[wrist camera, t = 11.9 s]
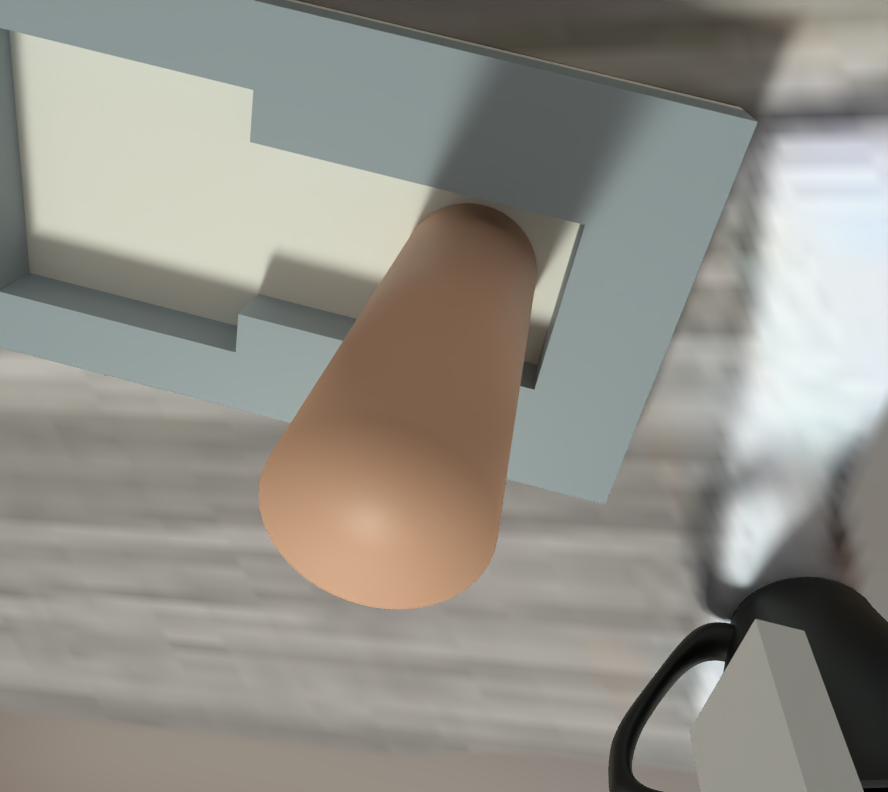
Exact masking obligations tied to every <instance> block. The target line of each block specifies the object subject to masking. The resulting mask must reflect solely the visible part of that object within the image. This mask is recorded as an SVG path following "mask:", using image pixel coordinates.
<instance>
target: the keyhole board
mask: <svg viewBox="0 0 888 792" xmlns="http://www.w3.org/2000/svg"><path fill="white" fill-rule="evenodd" d="M756 125H757V121H756V120H755V119H754V118H753V117H752V116H750V115H749V114H748V113H747V112H746V111H745V110H743V109H742V108H741V107H738V106H733V105H729V104H725V103H721V102H717V101H713V100H708V99H704V98H700V97H696V96H692V95H688V94H683V93H679V92H675V91H671V90H667V89H663V88H659V87H654V86H650V85H646V84H642V83H638V82H634V81H629V80H625V79H621V78H617V77H613V76H609V75H605V74H600V73H596V72H592V71H588V70H584V69H580V68H575V67H571V66H567V65H563V64H559V63H555V62H550V61H546V60H542V59H538V58H534V57H530V56H526V55H521V54H517V53H513V52H509V51H505V50H501V49H496V48H492V47H488V46H484V45H480V44H476V43H471V42H467V41H463V40H459V39H455V38H451V37H447V36H442V35H438V34H434V33H430V32H426V31H422V30H417V29H413V28H409V27H405V26H401V25H397V24H393V23H388V22H384V21H380V20H376V19H372V18H368V17H363V16H359V15H355V14H351V13H347V12H343V11H338V10H334V9H330V8H326V7H322V6H318V5H314V4H309V3H305V2H301V1H297V0H0V348H4V349H8V350H11V351H15V352H19V353H23V354H27V355H31V356H35V357H38V358H42V359H46V360H50V361H54V362H58V363H61V364H65V365H69V366H73V367H77V368H81V369H85V370H88V371H92V372H96V373H100V374H104V375H108V376H112V377H115V378H119V379H123V380H127V381H131V382H135V383H139V384H142V385H146V386H150V387H154V388H158V389H162V390H165V391H169V392H173V393H177V394H181V395H185V396H189V397H192V398H196V399H200V400H204V401H208V402H212V403H216V404H219V405H223V406H227V407H231V408H235V409H239V410H243V411H246V412H250V413H254V414H258V415H262V416H266V417H269V418H273V419H277V420H281V421H285V422H289V423H291V422H292V420H293V418H294V417H295V415H296V414H297V412H298V411H299V409H300V408H301V406H302V404H303V403H304V401H305V400H306V398H307V397H308V395H309V393H310V392H311V390H312V389H313V387H314V386H315V384H316V383H317V381H318V379H319V378H320V376H321V375H322V373H323V372H324V370H325V368H326V367H327V365H328V364H329V362H330V361H331V359H332V358H333V356H334V354H335V353H336V351H337V350H338V348H339V347H340V345H341V343H342V342H343V340H344V339H345V337H346V336H347V334H348V333H349V331H350V329H351V328H352V326H353V325H354V323H355V322H356V320H357V318H358V317H359V315H360V314H361V312H362V311H363V309H364V307H365V306H366V304H367V303H368V301H369V300H370V298H371V297H372V295H373V293H374V292H375V290H376V289H377V287H378V286H379V284H380V282H381V281H382V279H383V278H384V276H385V275H386V273H387V272H388V270H389V268H390V267H391V265H392V264H393V262H394V261H395V259H396V257H397V256H398V254H399V253H400V251H401V250H402V248H403V247H404V245H405V243H406V242H407V240H408V239H409V237H410V236H411V234H412V232H413V231H414V230H415V228H416V227H417V226H418V224H419V223H420V222H422V221H423V220H424V219H425V218H426V217H427V216H429V215H430V214H431V213H433V212H435V211H437V210H439V209H441V208H444V207H446V206H450V205H454V204H462V203H474V204H480V205H485V206H488V207H491V208H494V209H496V210H498V211H500V212H502V213H504V214H505V215H507V216H509V217H510V218H511V219H512V220H513V221H515V222H516V223H517V224H518V225H519V226H520V228H521V229H522V230H523V231H524V233H525V234H526V236H527V237H528V239H529V241H530V243H531V245H532V248H533V250H534V253H535V258H536V266H537V274H536V283H535V290H534V296H533V303H532V310H531V317H530V323H529V330H528V337H527V343H526V350H525V357H524V364H523V370H522V377H521V384H520V390H519V397H518V404H517V411H516V417H515V424H514V431H513V438H512V444H511V451H510V458H509V464H508V471H507V478H506V479H508V480H512V481H516V482H520V483H524V484H528V485H531V486H535V487H539V488H543V489H547V490H551V491H554V492H558V493H562V494H566V495H570V496H574V497H578V498H581V499H585V500H589V501H593V502H597V503H601V504H605V503H606V501H607V498H608V496H609V493H610V491H611V488H612V486H613V483H614V481H615V478H616V476H617V473H618V471H619V468H620V466H621V463H622V461H623V458H624V456H625V453H626V451H627V448H628V446H629V443H630V441H631V438H632V435H633V433H634V430H635V428H636V425H637V423H638V420H639V418H640V415H641V413H642V410H643V408H644V405H645V403H646V400H647V398H648V395H649V393H650V390H651V388H652V385H653V383H654V380H655V378H656V375H657V373H658V370H659V368H660V365H661V363H662V360H663V358H664V355H665V353H666V350H667V348H668V345H669V343H670V340H671V338H672V335H673V333H674V330H675V328H676V325H677V323H678V320H679V318H680V315H681V313H682V310H683V308H684V305H685V303H686V300H687V298H688V295H689V293H690V290H691V288H692V285H693V283H694V280H695V278H696V275H697V273H698V270H699V268H700V265H701V263H702V260H703V258H704V255H705V253H706V250H707V248H708V245H709V243H710V240H711V238H712V235H713V233H714V230H715V228H716V225H717V223H718V220H719V218H720V215H721V213H722V210H723V208H724V205H725V203H726V200H727V198H728V195H729V193H730V190H731V188H732V185H733V183H734V180H735V178H736V175H737V173H738V170H739V168H740V165H741V163H742V160H743V158H744V155H745V153H746V150H747V148H748V145H749V143H750V140H751V138H752V135H753V132H754V130H755V127H756Z"/></svg>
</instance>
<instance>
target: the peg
mask: <svg viewBox="0 0 888 792" xmlns="http://www.w3.org/2000/svg"><path fill="white" fill-rule="evenodd" d="M536 274H537V266H536V258H535V253H534V250H533V248H532V245H531V243H530V241H529V239H528V237H527V236H526V234H525V233H524V231H523V230H522V229H521V228H520V226H519V225H518V224H517V223H516V222H515V221H513V220H512V219H511V218H510V217H509V216H507V215H505V214H504V213H502V212H500V211H498V210H496V209H494V208H491V207H488V206H485V205H480V204H474V203H462V204H454V205H450V206H446V207H444V208H441V209H439V210H437V211H435V212H433V213H431V214H430V215H429V216H427V217H426V218H425V219H424V220H423V221H422V222H420V223H419V224H418V226H417V227H416V228H415V230H414V231H413V232H412V234H411V236H410V237H409V239H408V240H407V242H406V243H405V245H404V247H403V248H402V250H401V251H400V253H399V254H398V256H397V257H396V259H395V261H394V262H393V264H392V265H391V267H390V268H389V270H388V272H387V273H386V275H385V276H384V278H383V279H382V281H381V282H380V284H379V286H378V287H377V289H376V290H375V292H374V293H373V295H372V297H371V298H370V300H369V301H368V303H367V304H366V306H365V307H364V309H363V311H362V312H361V314H360V315H359V317H358V318H357V320H356V322H355V323H354V325H353V326H352V328H351V329H350V331H349V333H348V334H347V336H346V337H345V339H344V340H343V342H342V343H341V345H340V347H339V348H338V350H337V351H336V353H335V354H334V356H333V358H332V359H331V361H330V362H329V364H328V365H327V367H326V368H325V370H324V372H323V373H322V375H321V376H320V378H319V379H318V381H317V383H316V384H315V386H314V387H313V389H312V390H311V392H310V393H309V395H308V397H307V398H306V400H305V401H304V403H303V404H302V406H301V408H300V409H299V411H298V412H297V414H296V415H295V417H294V418H293V420H292V422H291V423H290V425H289V426H288V428H287V429H286V431H285V433H284V434H283V436H282V437H281V439H280V440H279V442H278V444H277V445H276V447H275V448H274V450H273V451H272V453H271V455H270V456H269V458H268V460H267V462H266V463H265V466H264V469H263V471H262V474H261V478H260V484H259V506H260V513H261V516H262V519H263V523H264V526H265V528H266V530H267V532H268V535H269V537H270V538H271V540H272V542H273V543H274V545H275V547H276V548H277V550H278V551H279V552H280V553H281V555H282V556H283V557H284V558H285V560H286V561H287V562H288V563H289V564H290V565H291V566H292V567H293V568H294V569H295V570H296V571H298V572H299V573H300V574H301V575H302V576H304V577H305V578H306V579H308V580H309V581H311V582H312V583H314V584H315V585H316V586H318V587H320V588H322V589H323V590H325V591H327V592H329V593H331V594H333V595H335V596H338V597H340V598H342V599H345V600H348V601H351V602H354V603H357V604H361V605H366V606H370V607H376V608H384V609H413V608H420V607H425V606H430V605H434V604H437V603H440V602H443V601H445V600H448V599H450V598H452V597H454V596H456V595H458V594H459V593H461V592H462V591H464V590H466V589H467V588H468V587H469V586H470V585H472V584H473V583H474V582H475V581H476V580H477V579H478V578H479V577H480V576H481V574H482V573H483V572H484V571H485V569H486V567H487V566H488V564H489V563H490V561H491V558H492V556H493V553H494V551H495V547H496V543H497V538H498V532H499V525H500V518H501V511H502V505H503V498H504V491H505V485H506V478H507V471H508V464H509V458H510V451H511V444H512V438H513V431H514V424H515V417H516V411H517V404H518V397H519V390H520V384H521V377H522V370H523V364H524V357H525V350H526V343H527V337H528V330H529V323H530V317H531V310H532V303H533V296H534V290H535V283H536Z"/></svg>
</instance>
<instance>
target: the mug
mask: <svg viewBox="0 0 888 792" xmlns="http://www.w3.org/2000/svg"><path fill="white" fill-rule="evenodd" d="M755 619H758V620H762V621H766V622H770V623H775V624H779V625H783V626H787V627H791V628H795V629H799V630H803V631H805V634H806V636H807V639H808V642H809V645H810V647H811V650H812V653H813V655H814V658H815V661H816V664H817V666H818V669H819V672H820V674H821V677H822V680H823V682H824V685H825V688H826V691H827V693H828V696H829V699H830V701H831V704H832V707H833V710H834V712H835V715H836V718H837V720H838V723H839V726H840V729H841V731H842V734H843V737H844V739H845V742H846V745H847V748H848V750H849V753H850V756H851V758H852V761H853V764H854V767H855V769H856V772H857V775H858V777H859V780H860V783H861V786H862V788H863V791H864V792H888V622H887V621H886V620H885V619H884V618H883V617H882V616H881V615H880V614H879V613H878V612H877V611H876V610H875V609H874V608H873V607H872V606H871V604H870V603H869V602H868V601H867V600H866V598H865V597H863V596H862V595H861V594H859V593H858V592H857V591H855V590H854V589H852V588H850V587H848V586H845V585H843V584H841V583H838V582H835V581H831V580H826V579H821V578H794V579H787V580H783V581H779V582H775V583H772V584H770V585H767V586H765V587H763V588H761V589H759V590H757V591H756V592H754V593H753V594H751V595H750V596H749V597H747V598H746V599H745V600H744V601H743V602H742V603H741V604H740V606H739V607H738V608H737V610H736V611H735V613H734V615H733V617H732V619H731V624H729V623H721V622H715V623H708V624H705V625H702V626H700V627H698V628H697V629H695V630H694V631H692V632H691V633H690V634H689V635H688V636H687V637H686V638H685V639H684V640H683V641H682V642H681V643H680V644H679V645H678V646H677V647H676V649H675V650H674V651H673V652H672V654H671V655H670V656H669V657H668V659H667V660H666V661H665V663H664V664H663V665H662V666H661V668H660V669H659V670H658V672H657V673H656V674H655V676H654V677H653V678H652V679H651V681H650V682H649V683H648V685H647V686H646V687H645V689H644V690H643V691H642V693H641V694H640V695H639V697H638V698H637V699H636V701H635V702H634V703H633V705H632V706H631V707H630V709H629V710H628V712H627V713H626V715H625V716H624V718H623V720H622V721H621V723H620V725H619V727H618V729H617V731H616V733H615V736H614V738H613V741H612V745H611V750H610V757H609V770H608V771H609V772H608V773H609V791H610V792H662V791H657V790H654V789H651V788H648V787H646V786H644V785H642V784H641V783H640V782H638V781H637V780H636V779H635V777H634V776H633V773H632V760H633V754H634V750H635V747H636V744H637V741H638V738H639V736H640V733H641V731H642V729H643V727H644V725H645V724H646V722H647V720H648V719H649V717H650V716H651V714H652V713H653V711H654V710H655V708H656V707H657V705H658V704H659V702H660V701H661V700H662V698H663V697H664V696H665V694H666V693H667V692H668V690H669V689H670V688H671V687H672V686H673V684H674V683H675V682H676V681H677V680H678V679H679V678H680V677H681V676H682V675H683V674H684V673H685V672H686V671H688V670H689V669H690V668H692V667H693V666H695V665H697V664H699V663H702V662H705V661H712V660H718V661H724V662H725V666H724V671H725V670H726V668H727V666H728V664H729V663H730V661H731V659H732V658H733V656H734V654H735V653H736V651H737V649H738V647H739V646H740V644H741V642H742V641H743V639H744V637H745V636H746V634H747V632H748V630H749V629H750V627H751V625H752V624H753V622H754V620H755ZM723 673H724V672H723Z"/></svg>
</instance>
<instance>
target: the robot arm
mask: <svg viewBox="0 0 888 792" xmlns="http://www.w3.org/2000/svg"><path fill="white" fill-rule="evenodd" d="M690 734H691V740H692V746H693V752H694V758H695V763H696V769H697V775H698V781H699V787H700V792H864V791H863V788H862V786H861V783H860V780H859V777H858V775H857V772H856V769H855V767H854V764H853V761H852V758H851V756H850V753H849V750H848V748H847V745H846V742H845V739H844V737H843V734H842V731H841V729H840V726H839V723H838V720H837V718H836V715H835V712H834V710H833V707H832V704H831V701H830V699H829V696H828V693H827V691H826V688H825V685H824V682H823V680H822V677H821V674H820V672H819V669H818V666H817V664H816V661H815V658H814V655H813V653H812V650H811V647H810V645H809V642H808V639H807V636H806V634H805V631H803V630H799V629H795V628H791V627H787V626H783V625H779V624H775V623H770V622H766V621H762V620H758V619H755V620H754V622H753V624H752V625H751V627H750V629H749V630H748V632H747V634H746V636H745V637H744V639H743V641H742V642H741V644H740V646H739V647H738V649H737V651H736V653H735V654H734V656H733V658H732V659H731V661H730V663H729V664H728V666H727V668H726V670H725V671H724V673H723V675H722V676H721V678H720V680H719V681H718V683H717V685H716V687H715V688H714V690H713V692H712V693H711V695H710V697H709V698H708V700H707V702H706V704H705V705H704V707H703V709H702V710H701V712H700V714H699V715H698V717H697V719H696V721H695V722H694V724H693V726H692V727H691V729H690Z"/></svg>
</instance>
